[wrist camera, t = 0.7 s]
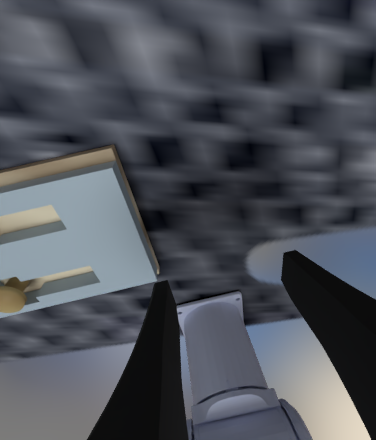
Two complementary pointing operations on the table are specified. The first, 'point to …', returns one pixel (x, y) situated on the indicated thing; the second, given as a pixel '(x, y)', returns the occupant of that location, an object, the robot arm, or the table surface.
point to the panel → (76, 236)
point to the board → (49, 216)
